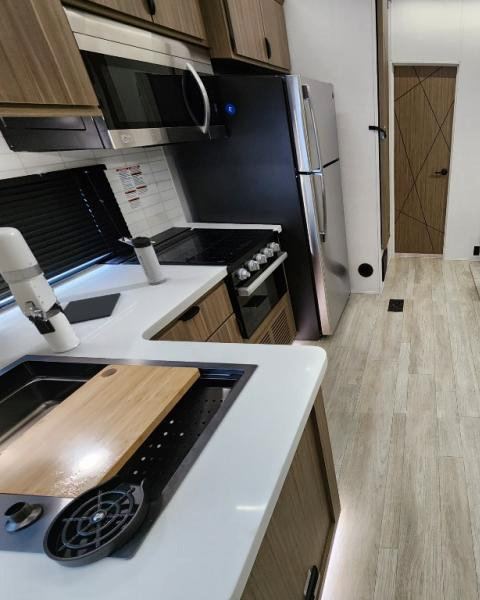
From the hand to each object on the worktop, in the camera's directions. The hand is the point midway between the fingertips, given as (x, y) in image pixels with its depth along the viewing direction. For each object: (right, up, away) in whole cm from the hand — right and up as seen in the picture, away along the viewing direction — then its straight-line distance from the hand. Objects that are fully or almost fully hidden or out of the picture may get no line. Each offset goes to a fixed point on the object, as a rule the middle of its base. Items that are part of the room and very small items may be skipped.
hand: (54, 324), depth 100 cm
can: (0, -7, +4) cm, 8 cm away
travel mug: (-3, +15, +46) cm, 49 cm away
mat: (-13, +4, +25) cm, 28 cm away
